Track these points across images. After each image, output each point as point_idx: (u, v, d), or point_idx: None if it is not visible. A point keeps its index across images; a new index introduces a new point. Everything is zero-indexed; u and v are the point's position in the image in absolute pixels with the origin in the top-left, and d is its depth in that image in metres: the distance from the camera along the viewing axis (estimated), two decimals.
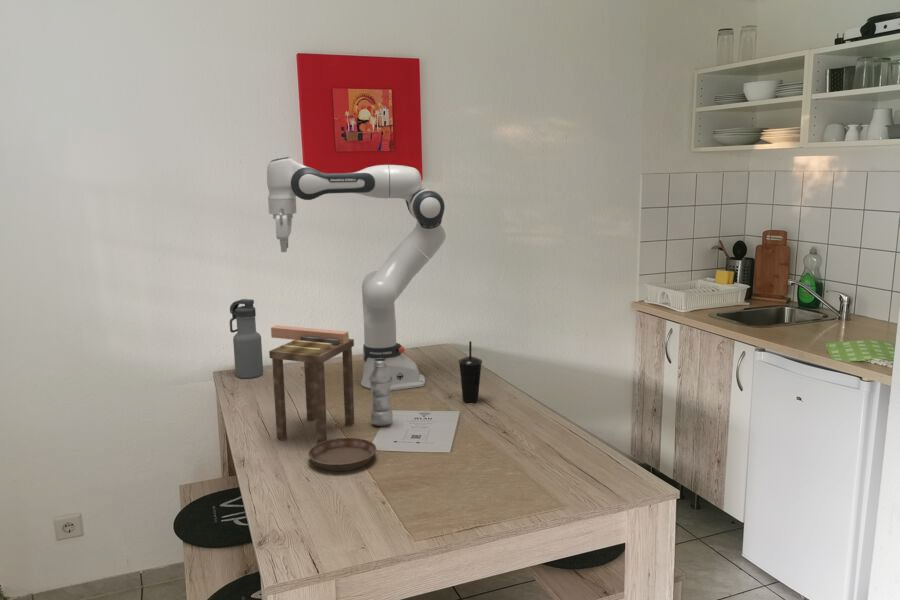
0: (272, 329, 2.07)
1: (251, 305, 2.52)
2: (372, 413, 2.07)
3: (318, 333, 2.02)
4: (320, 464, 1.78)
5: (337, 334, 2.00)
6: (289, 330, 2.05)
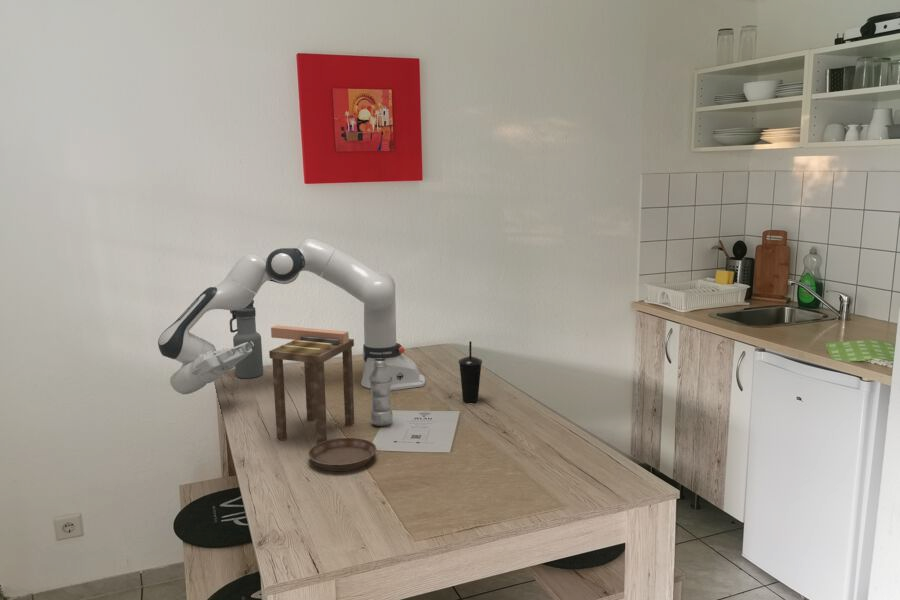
0: (272, 329, 2.07)
1: (251, 305, 2.52)
2: (372, 413, 2.07)
3: (318, 333, 2.02)
4: (320, 464, 1.78)
5: (337, 334, 2.00)
6: (289, 330, 2.05)
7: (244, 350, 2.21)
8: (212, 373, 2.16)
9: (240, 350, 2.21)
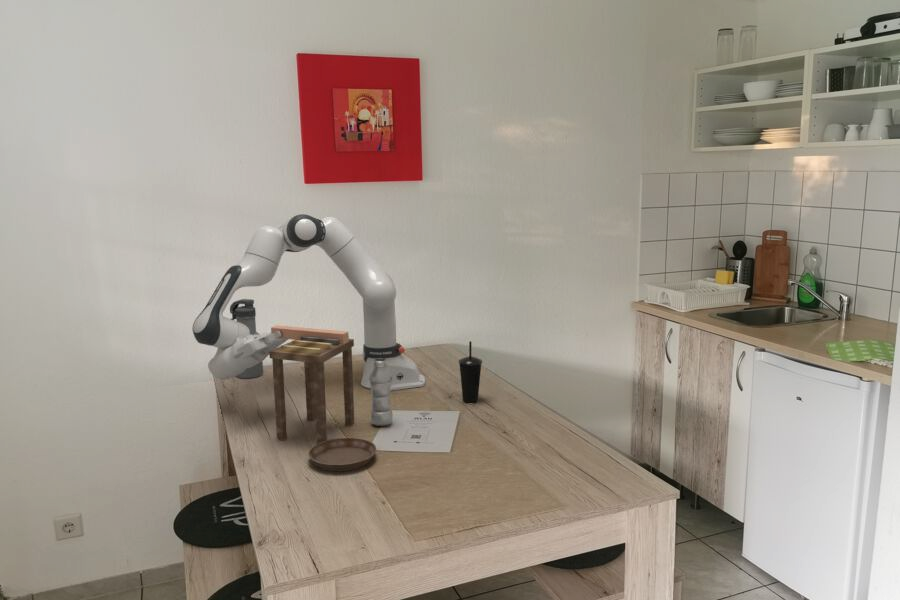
0: (272, 329, 2.07)
1: (251, 305, 2.52)
2: (372, 413, 2.07)
3: (318, 333, 2.02)
4: (320, 464, 1.78)
5: (337, 334, 2.00)
6: (289, 330, 2.05)
7: None
8: (253, 357, 2.10)
9: None
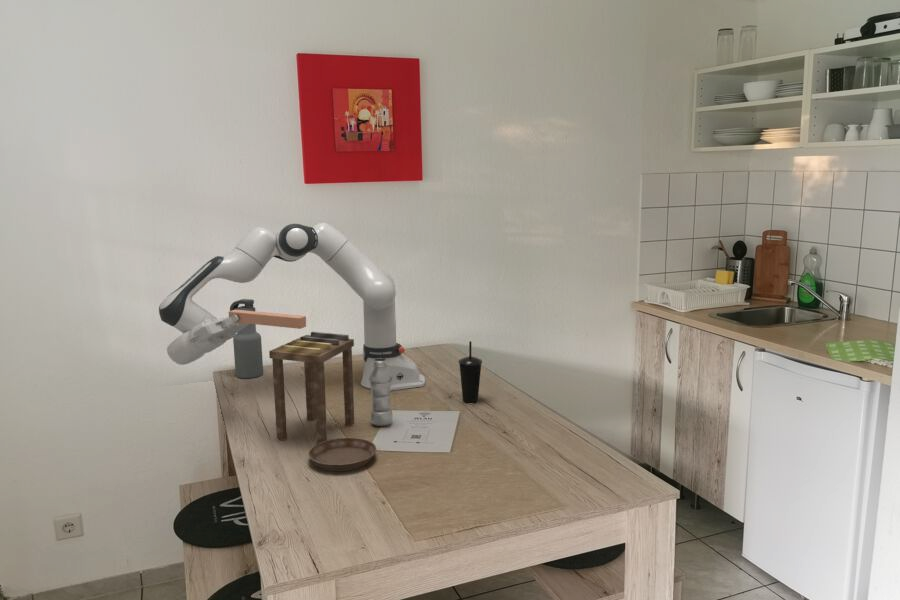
0: (230, 313, 2.04)
1: (251, 305, 2.52)
2: (372, 413, 2.07)
3: (275, 317, 1.99)
4: (320, 464, 1.78)
5: (294, 318, 1.97)
6: (246, 314, 2.02)
7: None
8: (211, 342, 2.07)
9: None
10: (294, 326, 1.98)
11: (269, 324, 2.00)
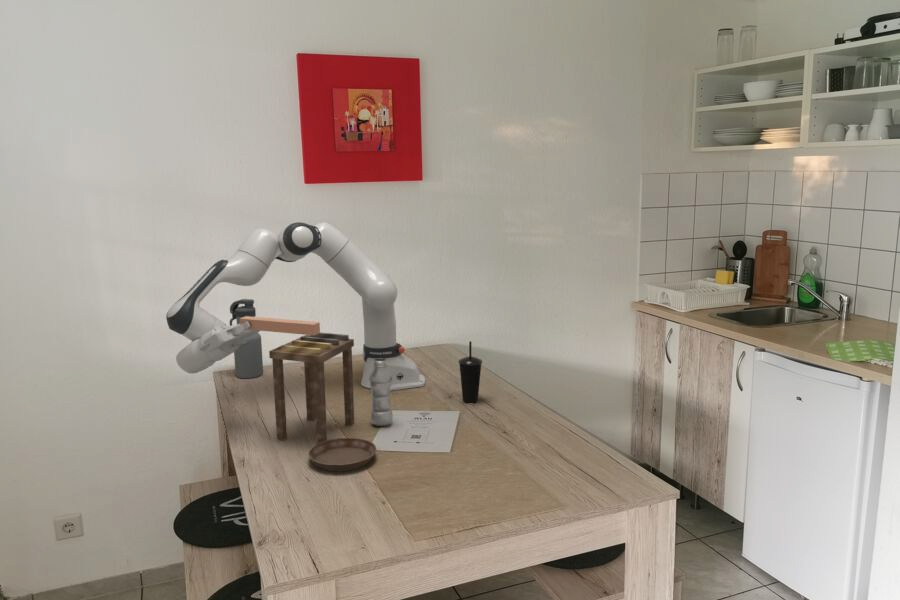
0: (241, 320, 1.98)
1: (251, 305, 2.52)
2: (372, 413, 2.07)
3: (288, 324, 1.93)
4: (320, 464, 1.78)
5: (307, 325, 1.91)
6: (258, 321, 1.96)
7: None
8: (221, 349, 2.01)
9: None
10: (308, 333, 1.91)
11: (282, 331, 1.94)
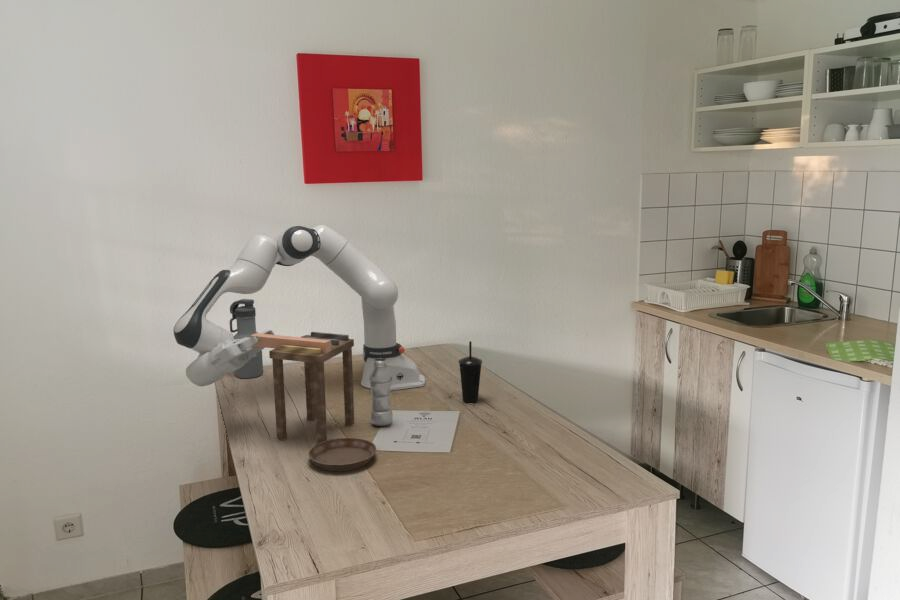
0: (251, 337, 1.98)
1: (251, 305, 2.52)
2: (372, 413, 2.07)
3: (299, 342, 1.93)
4: (320, 464, 1.78)
5: (319, 343, 1.91)
6: (269, 338, 1.96)
7: None
8: (232, 363, 2.00)
9: None
10: None
11: None
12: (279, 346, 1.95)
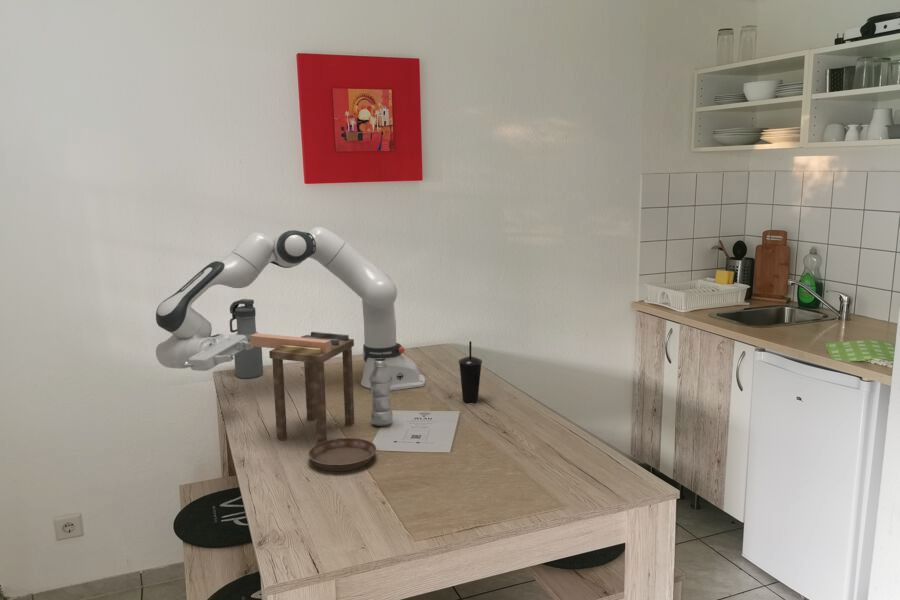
0: (251, 337, 1.98)
1: (251, 305, 2.52)
2: (372, 413, 2.07)
3: (299, 342, 1.93)
4: (320, 464, 1.78)
5: (319, 343, 1.91)
6: (269, 338, 1.96)
7: (241, 347, 2.10)
8: None
9: (237, 346, 2.10)
10: None
11: None
12: (279, 346, 1.95)
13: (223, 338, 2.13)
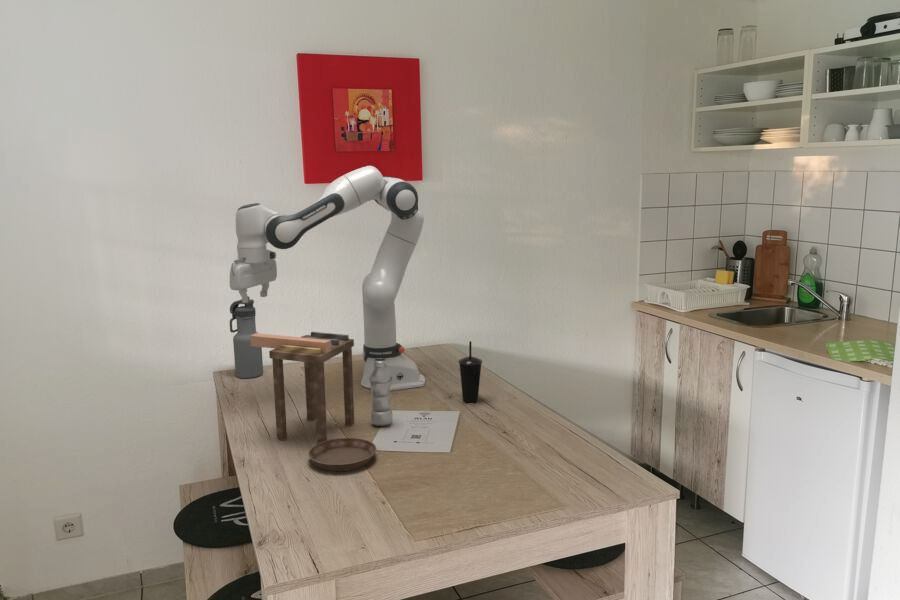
0: (251, 337, 1.98)
1: (251, 305, 2.52)
2: (372, 413, 2.07)
3: (299, 342, 1.93)
4: (320, 464, 1.78)
5: (319, 343, 1.91)
6: (269, 338, 1.96)
7: (262, 284, 2.27)
8: None
9: None
10: None
11: None
12: (279, 346, 1.95)
13: (270, 263, 2.25)
